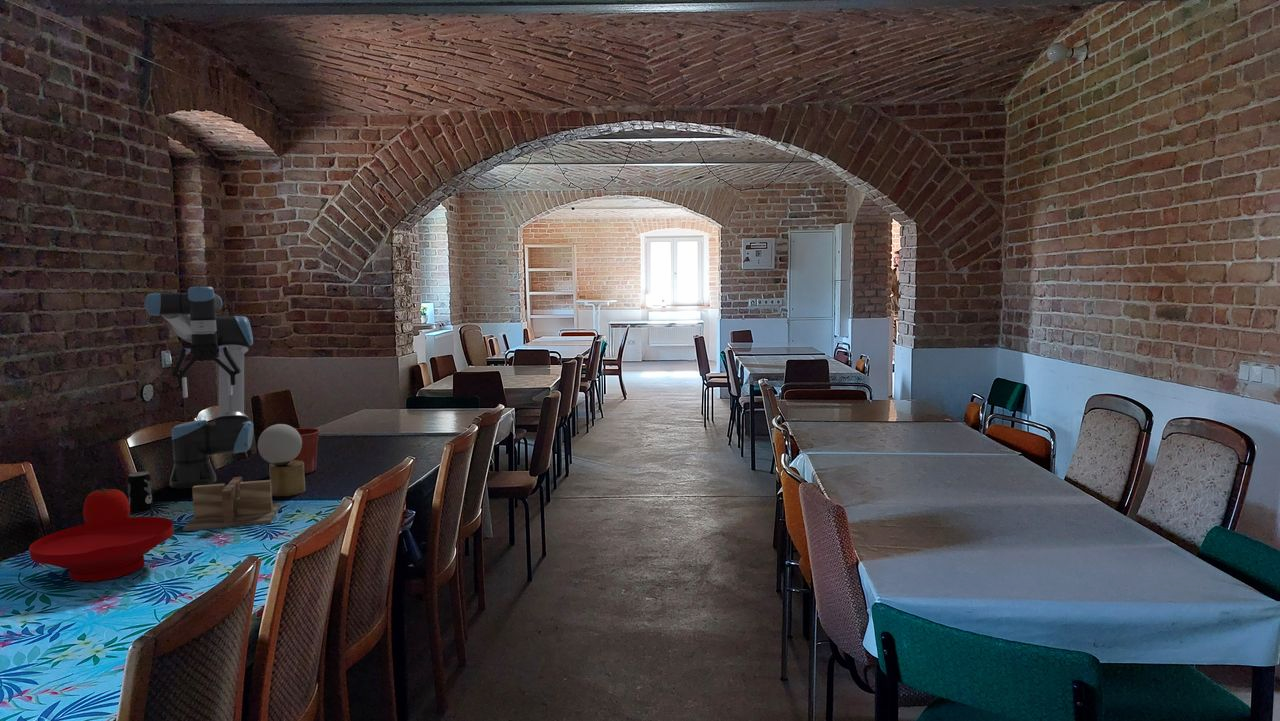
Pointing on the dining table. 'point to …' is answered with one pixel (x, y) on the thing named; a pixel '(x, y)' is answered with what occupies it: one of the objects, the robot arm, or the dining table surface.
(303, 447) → the flower pot
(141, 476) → the beverage can
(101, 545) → the bowl
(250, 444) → the robot arm
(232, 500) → the walnut plate
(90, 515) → the tomato
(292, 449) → the lamp
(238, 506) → the wooden joinery piece
